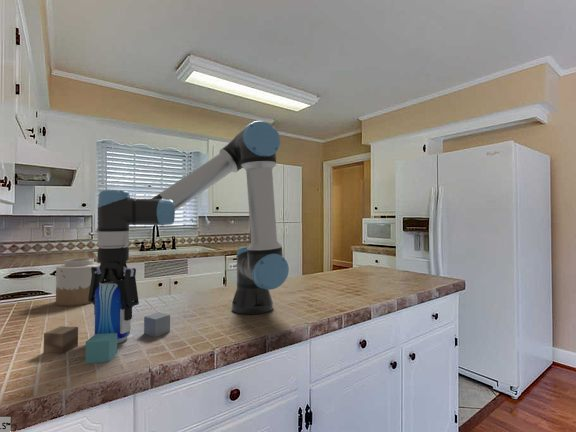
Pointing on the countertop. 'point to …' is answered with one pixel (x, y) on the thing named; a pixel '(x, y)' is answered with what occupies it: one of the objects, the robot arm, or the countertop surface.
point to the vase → (74, 281)
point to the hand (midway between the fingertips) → (112, 329)
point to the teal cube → (101, 348)
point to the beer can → (108, 310)
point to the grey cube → (156, 324)
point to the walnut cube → (60, 340)
